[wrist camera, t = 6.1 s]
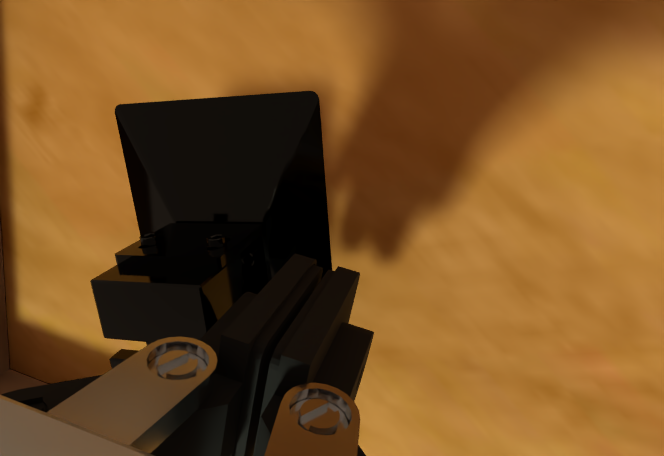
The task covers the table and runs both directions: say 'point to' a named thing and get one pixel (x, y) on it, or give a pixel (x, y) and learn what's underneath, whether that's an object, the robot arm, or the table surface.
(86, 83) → the table surface
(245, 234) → the build plate
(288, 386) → the robot arm
